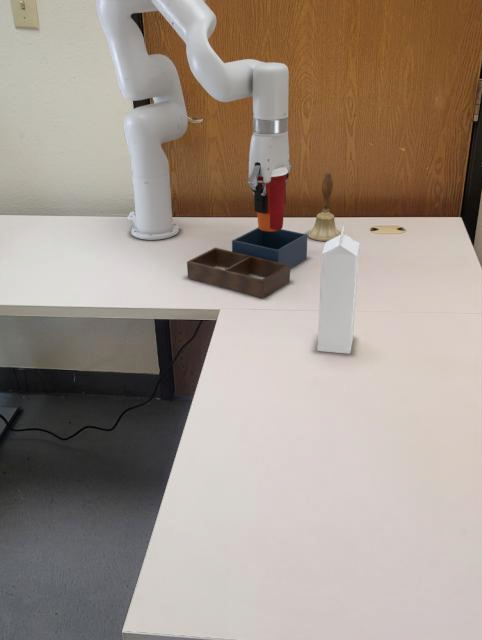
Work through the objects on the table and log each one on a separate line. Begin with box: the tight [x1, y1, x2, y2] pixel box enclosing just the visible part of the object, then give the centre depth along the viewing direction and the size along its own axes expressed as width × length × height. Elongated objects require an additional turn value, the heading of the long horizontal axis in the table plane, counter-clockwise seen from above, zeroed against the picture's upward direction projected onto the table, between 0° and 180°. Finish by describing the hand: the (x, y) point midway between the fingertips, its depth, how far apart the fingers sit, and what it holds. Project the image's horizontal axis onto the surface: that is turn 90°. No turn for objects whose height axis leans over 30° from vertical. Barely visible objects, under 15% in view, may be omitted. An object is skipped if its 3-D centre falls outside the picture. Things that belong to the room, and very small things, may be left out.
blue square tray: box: [231, 227, 309, 270], centre depth 169 cm, size 13×13×6 cm
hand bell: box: [307, 172, 341, 242], centre depth 180 cm, size 8×8×16 cm
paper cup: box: [256, 165, 288, 231], centre depth 162 cm, size 8×8×14 cm
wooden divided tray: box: [186, 247, 291, 299], centre depth 160 cm, size 20×11×4 cm, turn 54°
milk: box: [316, 225, 361, 355], centre depth 128 cm, size 6×6×22 cm
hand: (270, 207), depth 163 cm, fingers closed on paper cup, 6 cm apart
